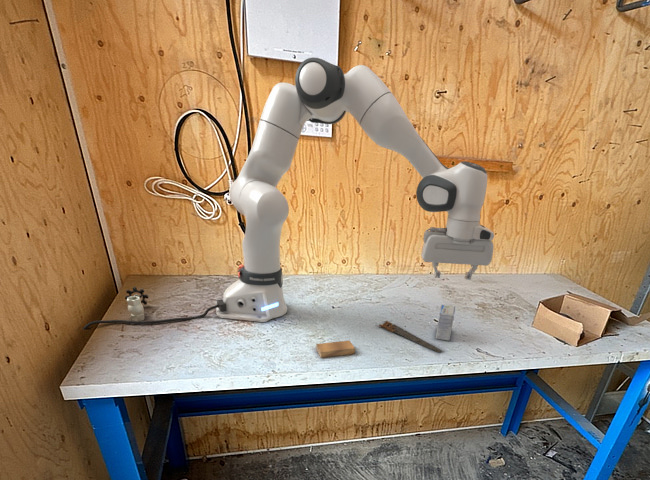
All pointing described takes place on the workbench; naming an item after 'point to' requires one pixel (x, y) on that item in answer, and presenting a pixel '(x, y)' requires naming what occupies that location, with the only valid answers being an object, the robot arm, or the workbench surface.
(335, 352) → the plywood offcut
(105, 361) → the workbench surface
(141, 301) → the valve
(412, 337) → the hand saw
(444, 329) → the medicine box
